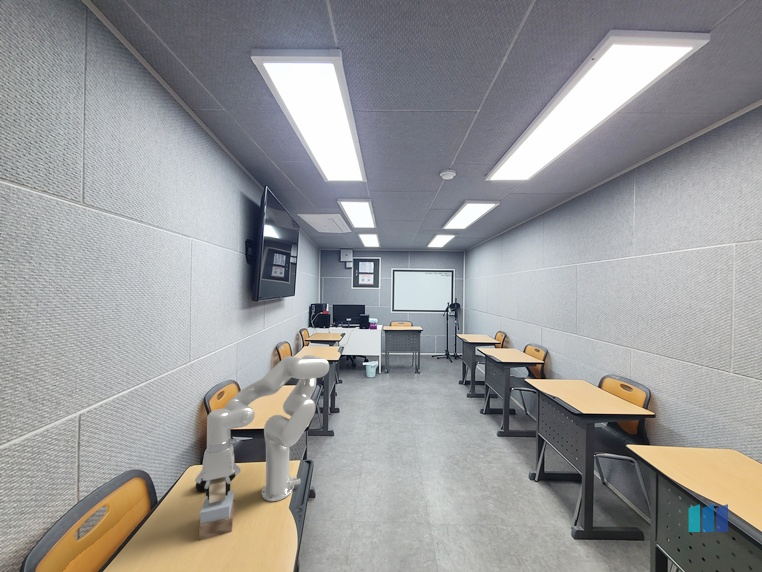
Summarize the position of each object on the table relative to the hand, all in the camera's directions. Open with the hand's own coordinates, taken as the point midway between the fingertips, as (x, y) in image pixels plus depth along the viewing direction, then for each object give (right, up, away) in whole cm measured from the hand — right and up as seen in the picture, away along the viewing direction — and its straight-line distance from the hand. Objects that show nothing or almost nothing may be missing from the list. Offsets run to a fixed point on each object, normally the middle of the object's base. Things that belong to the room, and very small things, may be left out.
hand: (218, 494), depth 106 cm
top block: (0, -6, 0) cm, 6 cm away
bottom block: (0, -11, 0) cm, 11 cm away
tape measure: (-17, -12, +20) cm, 29 cm away
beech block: (0, -1, 0) cm, 1 cm away
